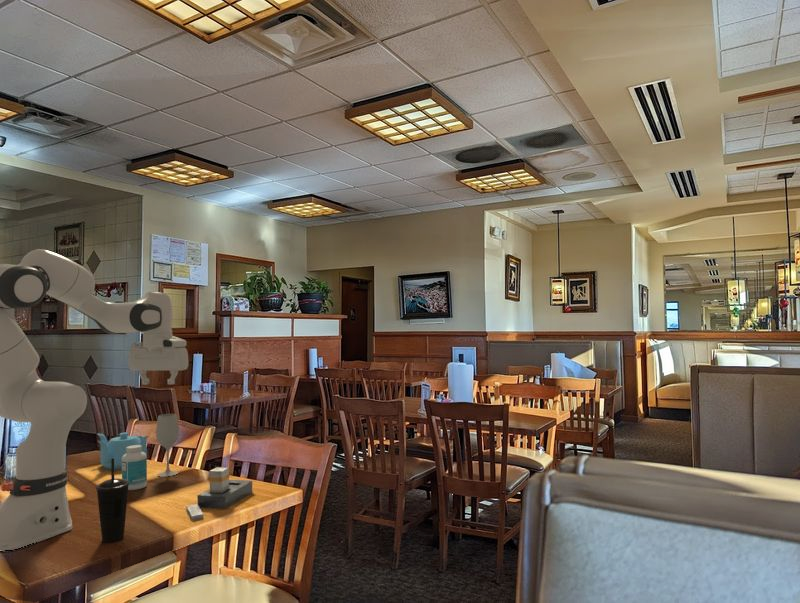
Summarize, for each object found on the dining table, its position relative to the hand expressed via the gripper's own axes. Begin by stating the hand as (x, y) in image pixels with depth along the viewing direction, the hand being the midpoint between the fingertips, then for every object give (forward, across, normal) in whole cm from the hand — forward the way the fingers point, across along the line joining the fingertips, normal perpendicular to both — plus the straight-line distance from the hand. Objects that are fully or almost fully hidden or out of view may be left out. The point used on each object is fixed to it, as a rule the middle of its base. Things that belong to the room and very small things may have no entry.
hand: (158, 384), depth 181 cm
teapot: (+34, -35, +25) cm, 55 cm away
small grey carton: (+34, +27, -8) cm, 44 cm away
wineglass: (+34, -9, +17) cm, 39 cm away
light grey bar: (+35, +25, -18) cm, 46 cm away
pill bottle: (+34, -10, +1) cm, 36 cm away
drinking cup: (+34, +15, -38) cm, 53 cm away
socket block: (+34, +27, -5) cm, 44 cm away
